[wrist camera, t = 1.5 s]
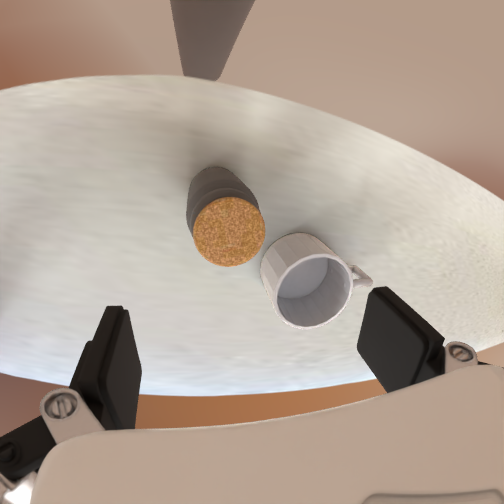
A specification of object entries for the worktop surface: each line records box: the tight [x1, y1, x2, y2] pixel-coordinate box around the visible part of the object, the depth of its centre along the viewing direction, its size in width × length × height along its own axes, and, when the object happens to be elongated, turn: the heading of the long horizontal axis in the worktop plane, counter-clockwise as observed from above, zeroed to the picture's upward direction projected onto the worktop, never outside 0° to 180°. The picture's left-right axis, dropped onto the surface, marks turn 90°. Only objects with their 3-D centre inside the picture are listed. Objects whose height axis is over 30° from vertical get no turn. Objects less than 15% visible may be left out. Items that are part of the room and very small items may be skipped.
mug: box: [260, 233, 373, 329], centre depth 36 cm, size 13×9×7 cm
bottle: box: [186, 167, 265, 267], centre depth 27 cm, size 6×6×15 cm
